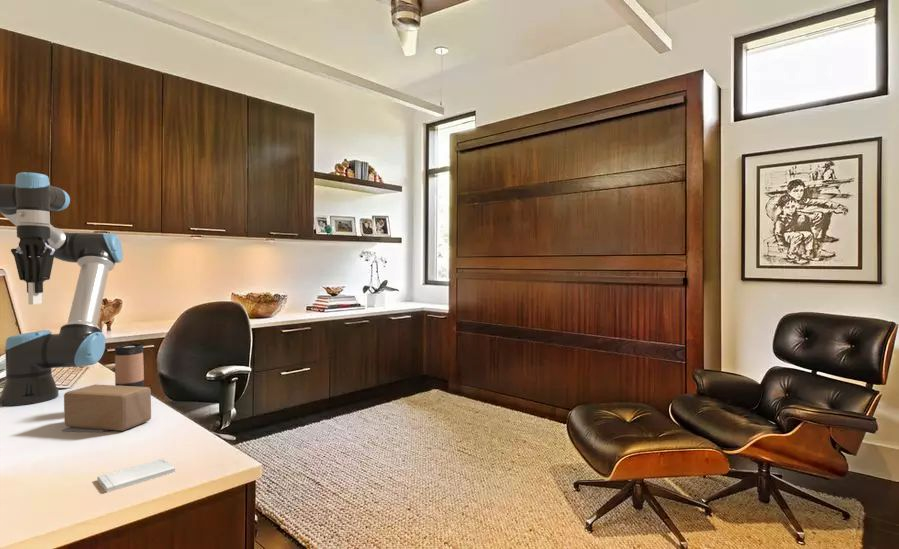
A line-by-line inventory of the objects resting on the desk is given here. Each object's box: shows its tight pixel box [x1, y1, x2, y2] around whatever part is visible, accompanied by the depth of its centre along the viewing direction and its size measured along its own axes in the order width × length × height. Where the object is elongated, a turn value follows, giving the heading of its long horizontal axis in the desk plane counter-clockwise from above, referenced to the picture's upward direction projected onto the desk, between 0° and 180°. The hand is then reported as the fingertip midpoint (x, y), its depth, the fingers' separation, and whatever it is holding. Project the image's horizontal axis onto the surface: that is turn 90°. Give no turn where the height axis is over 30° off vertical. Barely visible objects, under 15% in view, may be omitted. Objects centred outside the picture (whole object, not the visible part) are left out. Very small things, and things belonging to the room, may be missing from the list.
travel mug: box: [114, 343, 145, 387], centre depth 151 cm, size 8×8×20 cm
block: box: [63, 384, 152, 432], centre depth 134 cm, size 10×10×20 cm
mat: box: [61, 427, 108, 433], centre depth 136 cm, size 12×15×1 cm
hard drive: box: [97, 458, 176, 494], centre depth 101 cm, size 2×8×12 cm
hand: (35, 304), depth 140 cm, fingers closed
